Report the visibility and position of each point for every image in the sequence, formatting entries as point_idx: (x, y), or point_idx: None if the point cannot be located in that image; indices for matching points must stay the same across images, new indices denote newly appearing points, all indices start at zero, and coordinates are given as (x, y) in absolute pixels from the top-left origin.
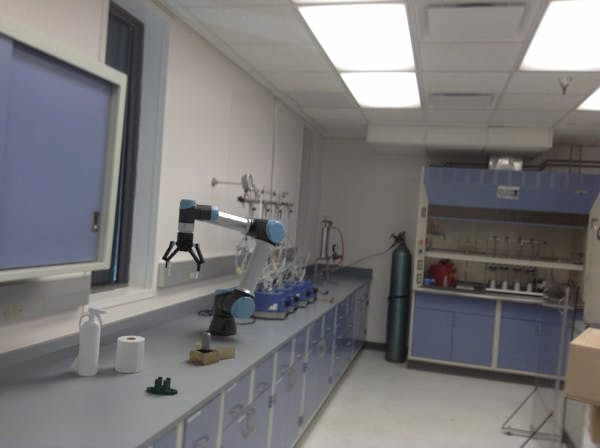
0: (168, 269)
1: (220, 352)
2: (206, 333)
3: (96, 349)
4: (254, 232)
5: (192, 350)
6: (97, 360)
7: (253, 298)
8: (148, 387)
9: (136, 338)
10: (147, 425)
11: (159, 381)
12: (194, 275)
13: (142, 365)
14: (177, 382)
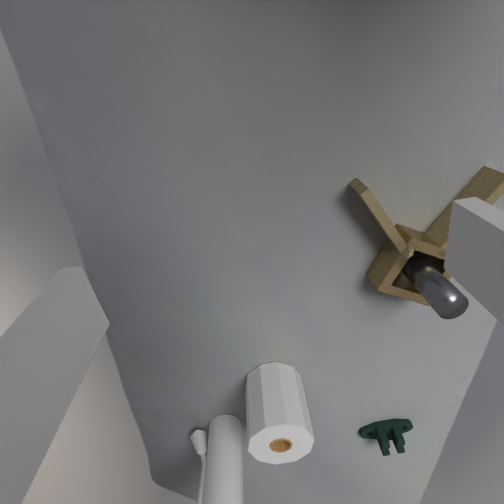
0: (77, 386)
1: None
2: (452, 311)
3: (242, 475)
4: None
5: (384, 291)
6: (239, 445)
7: None
8: (362, 434)
9: (289, 438)
10: (408, 489)
11: (388, 448)
12: (466, 289)
13: (297, 375)
14: (393, 389)
